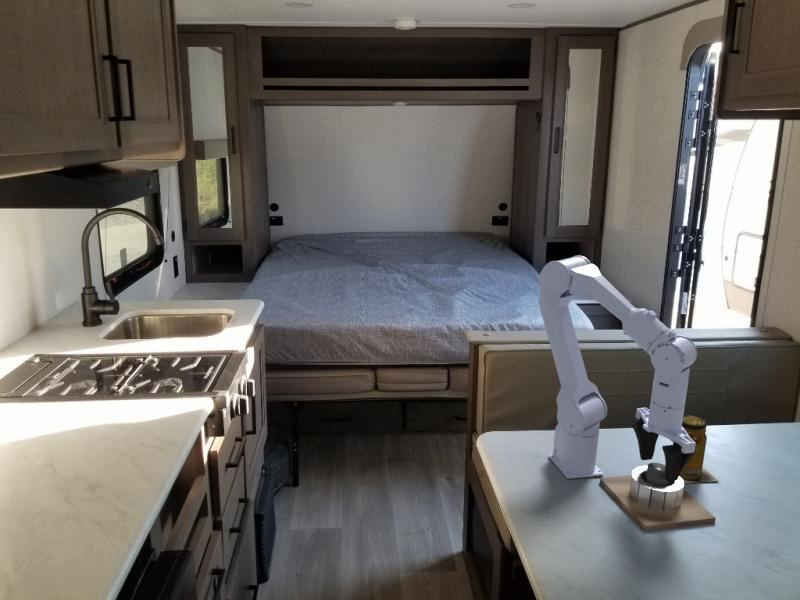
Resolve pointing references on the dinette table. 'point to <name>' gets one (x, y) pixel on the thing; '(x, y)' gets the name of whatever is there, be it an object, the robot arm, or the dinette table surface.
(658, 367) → the robot arm
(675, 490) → the white faceted ring
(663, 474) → the dark rounded capsule
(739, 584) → the dinette table surface
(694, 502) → the walnut board
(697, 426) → the condiment
